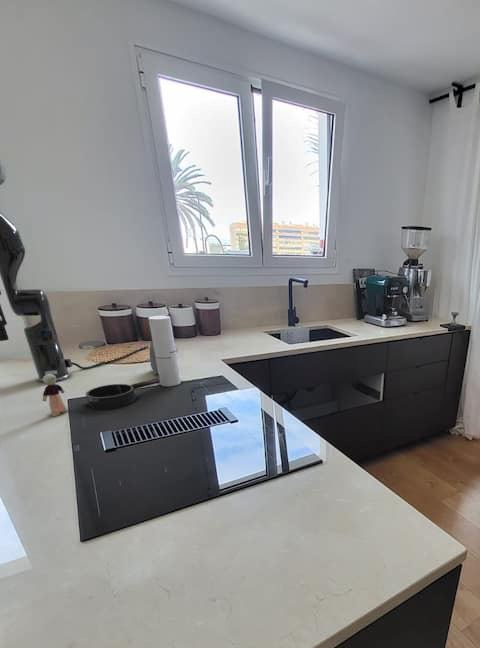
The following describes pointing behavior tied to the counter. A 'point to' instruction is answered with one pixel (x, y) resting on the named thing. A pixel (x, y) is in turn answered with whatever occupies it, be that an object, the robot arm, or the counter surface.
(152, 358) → the decorative rock
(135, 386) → the pan handle
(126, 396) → the pan
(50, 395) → the grandmother figurine
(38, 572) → the counter surface
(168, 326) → the cylindrical container
